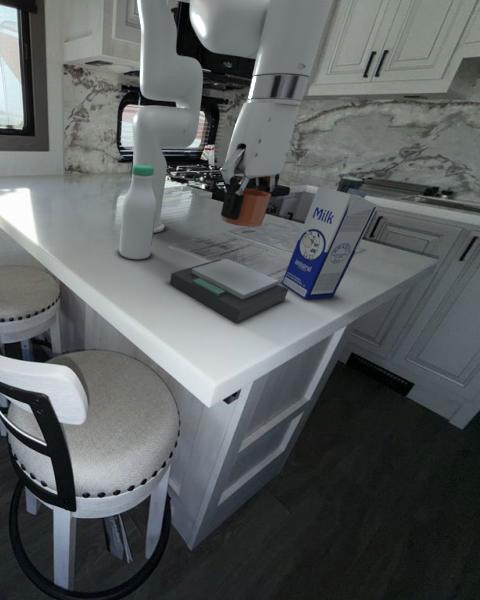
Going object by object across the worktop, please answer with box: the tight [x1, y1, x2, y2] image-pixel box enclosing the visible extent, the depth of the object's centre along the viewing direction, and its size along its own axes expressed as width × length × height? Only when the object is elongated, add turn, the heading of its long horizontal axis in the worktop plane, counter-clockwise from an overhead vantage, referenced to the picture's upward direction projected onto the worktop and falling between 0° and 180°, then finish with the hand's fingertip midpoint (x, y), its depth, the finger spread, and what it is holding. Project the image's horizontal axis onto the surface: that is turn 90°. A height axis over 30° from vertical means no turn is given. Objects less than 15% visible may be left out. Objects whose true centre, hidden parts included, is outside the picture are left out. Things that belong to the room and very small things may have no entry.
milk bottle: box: [118, 165, 156, 260], centre depth 70 cm, size 8×8×20 cm
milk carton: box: [281, 185, 379, 300], centre depth 58 cm, size 7×7×20 cm
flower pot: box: [221, 187, 272, 228], centre depth 53 cm, size 7×7×5 cm
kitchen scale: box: [169, 258, 290, 324], centre depth 59 cm, size 16×15×4 cm
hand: (243, 214), depth 54 cm, fingers closed on flower pot, 6 cm apart
